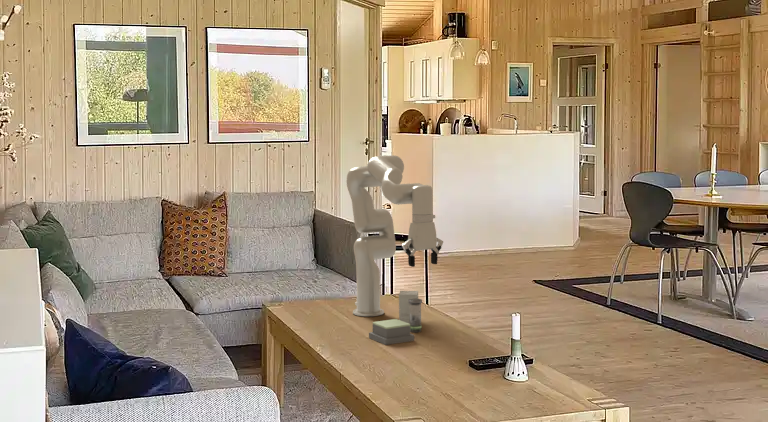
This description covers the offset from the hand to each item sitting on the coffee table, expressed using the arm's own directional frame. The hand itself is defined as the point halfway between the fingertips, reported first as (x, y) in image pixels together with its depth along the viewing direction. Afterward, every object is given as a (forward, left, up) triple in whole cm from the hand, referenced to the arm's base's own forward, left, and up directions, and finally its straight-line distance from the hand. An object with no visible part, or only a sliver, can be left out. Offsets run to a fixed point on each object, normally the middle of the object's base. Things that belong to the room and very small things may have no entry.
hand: (423, 265), depth 359 cm
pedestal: (0, -14, -26) cm, 30 cm away
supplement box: (-17, +4, -26) cm, 31 cm away
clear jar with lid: (-6, 0, -26) cm, 27 cm away
